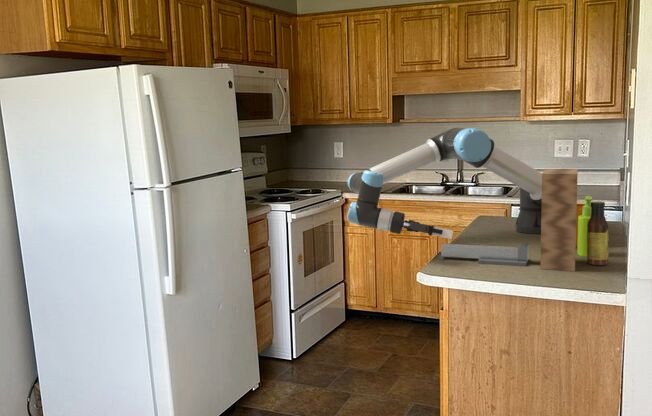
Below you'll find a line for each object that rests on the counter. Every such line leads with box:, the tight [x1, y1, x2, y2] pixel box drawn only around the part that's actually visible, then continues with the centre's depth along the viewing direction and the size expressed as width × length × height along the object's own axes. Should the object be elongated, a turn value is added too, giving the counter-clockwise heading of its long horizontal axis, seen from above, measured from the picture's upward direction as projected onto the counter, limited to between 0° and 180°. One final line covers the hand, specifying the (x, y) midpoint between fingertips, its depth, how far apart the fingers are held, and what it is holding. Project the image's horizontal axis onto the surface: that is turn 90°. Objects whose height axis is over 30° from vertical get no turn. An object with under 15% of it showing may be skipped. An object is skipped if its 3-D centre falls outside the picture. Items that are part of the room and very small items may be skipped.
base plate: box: [477, 258, 528, 267], centre depth 200 cm, size 15×9×1 cm, turn 67°
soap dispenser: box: [576, 195, 593, 258], centre depth 202 cm, size 6×7×20 cm
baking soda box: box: [576, 199, 594, 248], centre depth 218 cm, size 10×6×16 cm
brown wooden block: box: [539, 168, 579, 272], centre depth 192 cm, size 10×14×30 cm
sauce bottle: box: [586, 200, 610, 266], centre depth 191 cm, size 6×6×20 cm
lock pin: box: [440, 242, 530, 263], centre depth 202 cm, size 28×5×5 cm, turn 67°
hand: (452, 235), depth 207 cm, fingers open, 13 cm apart
